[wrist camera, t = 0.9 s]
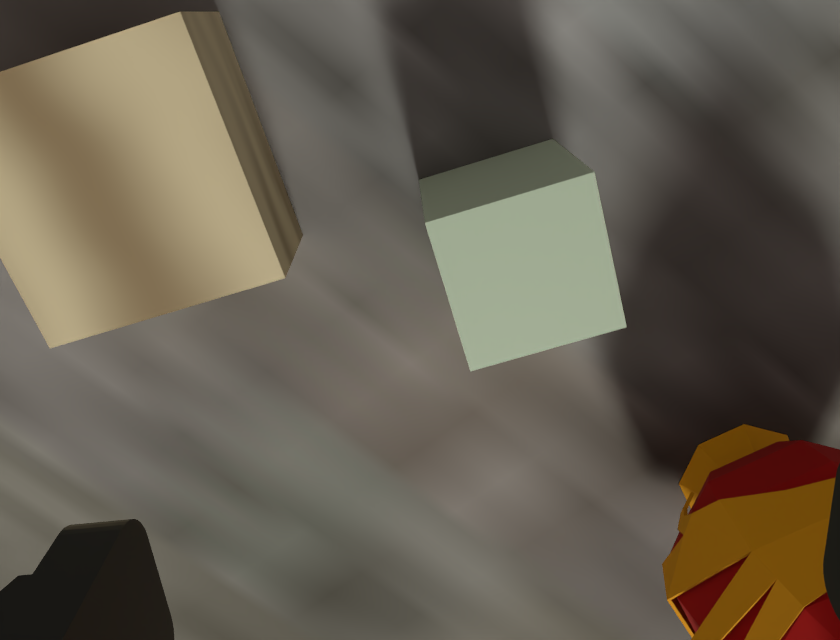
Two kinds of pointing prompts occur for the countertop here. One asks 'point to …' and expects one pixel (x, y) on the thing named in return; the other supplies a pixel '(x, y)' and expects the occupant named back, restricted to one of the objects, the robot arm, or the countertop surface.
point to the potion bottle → (754, 539)
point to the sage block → (522, 253)
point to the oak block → (137, 179)
